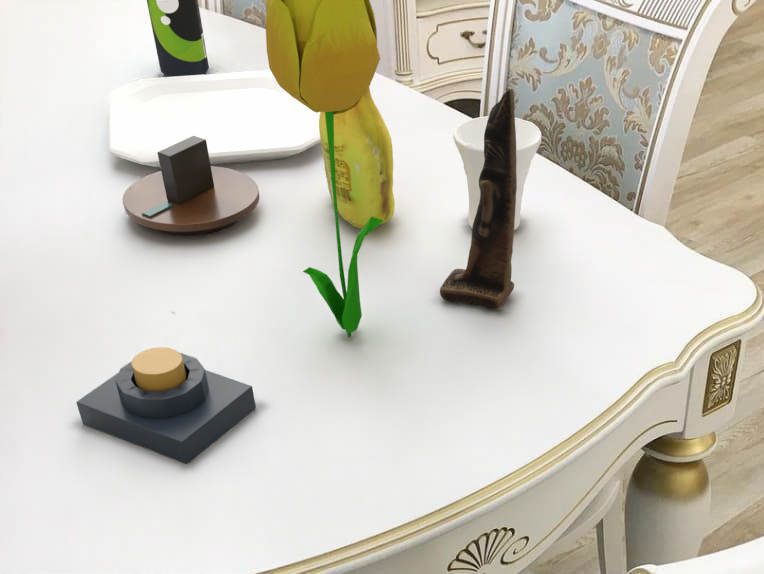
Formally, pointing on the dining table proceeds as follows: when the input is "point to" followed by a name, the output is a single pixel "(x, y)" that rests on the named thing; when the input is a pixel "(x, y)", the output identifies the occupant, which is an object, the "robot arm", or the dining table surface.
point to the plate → (210, 118)
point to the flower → (327, 96)
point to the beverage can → (178, 37)
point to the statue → (491, 218)
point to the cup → (472, 155)
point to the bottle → (360, 163)
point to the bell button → (158, 369)
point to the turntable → (190, 192)
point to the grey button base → (168, 410)
